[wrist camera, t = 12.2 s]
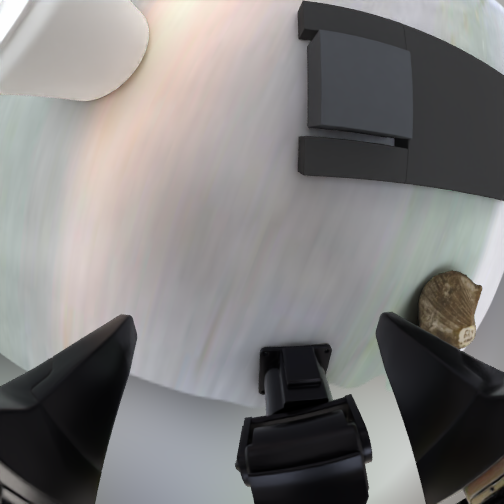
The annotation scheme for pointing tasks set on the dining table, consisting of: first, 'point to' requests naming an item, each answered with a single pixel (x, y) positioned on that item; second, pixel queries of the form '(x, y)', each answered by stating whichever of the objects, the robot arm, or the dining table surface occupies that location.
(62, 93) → the beverage can
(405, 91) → the pad
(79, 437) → the robot arm
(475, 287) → the fossilized seashell
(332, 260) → the dining table surface
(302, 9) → the u-shaped holder
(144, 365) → the dining table surface
